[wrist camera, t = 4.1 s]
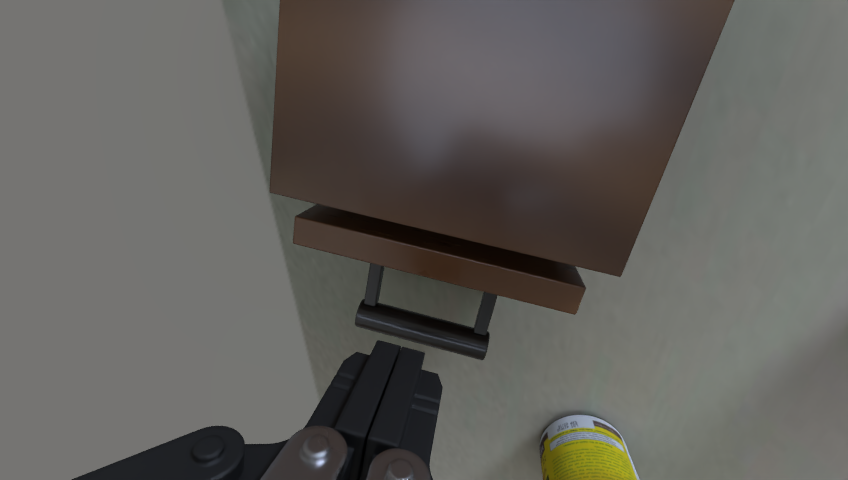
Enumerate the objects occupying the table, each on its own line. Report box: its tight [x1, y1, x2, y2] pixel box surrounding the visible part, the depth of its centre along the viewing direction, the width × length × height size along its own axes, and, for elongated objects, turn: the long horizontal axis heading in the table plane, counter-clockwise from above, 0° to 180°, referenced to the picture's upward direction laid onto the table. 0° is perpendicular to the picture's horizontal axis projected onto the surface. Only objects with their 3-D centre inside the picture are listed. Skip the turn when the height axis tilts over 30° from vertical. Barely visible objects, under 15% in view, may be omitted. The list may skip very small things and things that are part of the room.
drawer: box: [293, 204, 586, 360], centre depth 17 cm, size 18×11×8 cm, turn 168°
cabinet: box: [270, 0, 734, 277], centre depth 16 cm, size 15×13×10 cm
